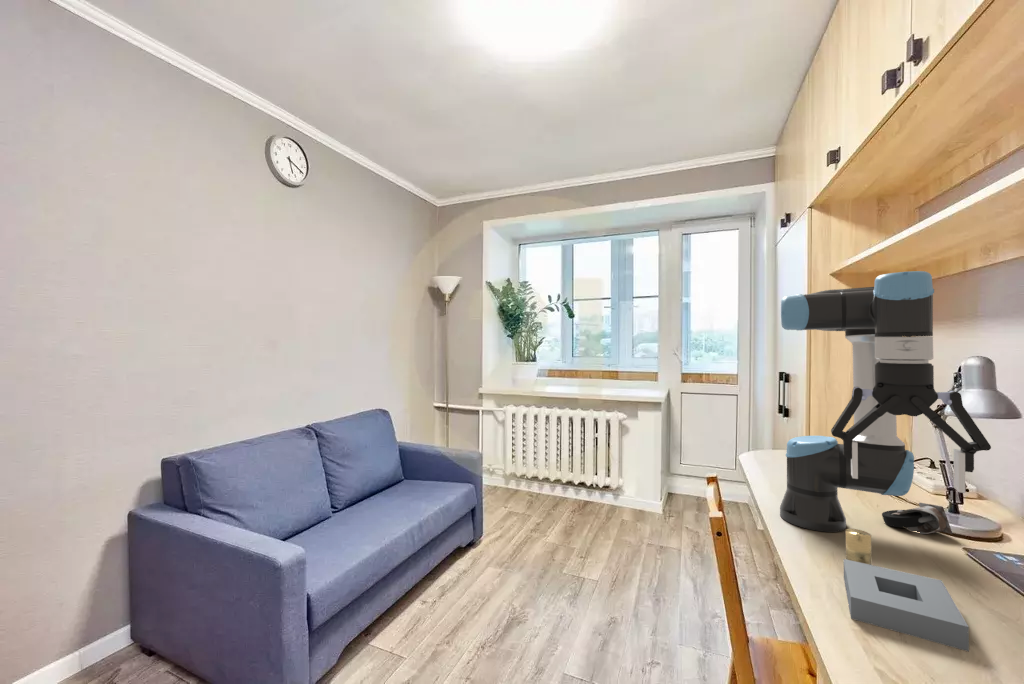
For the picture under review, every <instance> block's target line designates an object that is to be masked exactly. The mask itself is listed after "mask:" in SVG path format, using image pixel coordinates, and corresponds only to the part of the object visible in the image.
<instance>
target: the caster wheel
mask: <svg viewBox="0 0 1024 684" xmlns="http://www.w3.org/2000/svg"><path fill="white" fill-rule="evenodd" d="M918 505H919V507H914V508H913V507H912V508H909V509H893V510H886V511H883V512H882V513H881V516H882V519H883V523H884V522H885V523H886V524H887V525H886V524H885V523H884V524H885V525H886V526H889V527H896V528H905V529H906V530H907V531H909V530H910V531H909V532H911V531H917V532H920V534H919V535H927V534H932V533H933V534H934V533H937V532H941V533H942V532H943V533H946V534H951V535H953V531H952V528H951V525H950V522H949V520H948V516H947V514H946V511H945V509H944V508H945V507H944V506H942V505H936V504H931V503H925V502H918Z"/></svg>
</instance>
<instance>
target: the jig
mask: <svg viewBox="0 0 1024 684" xmlns="http://www.w3.org/2000/svg"><path fill="white" fill-rule="evenodd" d="M842 562H843V581H844V587H845V591H846V592H845V593H846V598H847V605H848V604H849V605H848V608H849V615H850V619H852V620H855V621H858V622H862V623H865V624H869V625H873V626H877V627H880V628H883V629H887V630H891V631H895V632H898V633H901V634H906V635H909V636H912V637H914V638H918V639H923V640H925V641H930V642H933V643H937V644H941V645H944V646H948V647H951V648H955V649H958V650H962V651H965V652H969V651H970V639H969V638H970V637H969V634H970V633H969V632H970V631H969V630H970V629H969V628H970V627H969V625H968V623H967V622H966V619H965V618H964V617H963V615H962V613H961V611H960V610H959V608H958V606H957V605H956V603H955V601H954V600H953V597H952V595H951V594H950V592H949V590H948V589H947V588H946V585H945V584H944V582H943V581H942V580H941V579H937V578H933V577H928V576H924V575H919V574H914V573H909V572H904V571H901V570H896V569H892V568H886V567H882V566H878V565H875V564H874V565H873V564H872V565H869V564H865V563H860V562H856V561H851V560H847V559H846V558H843V561H842Z"/></svg>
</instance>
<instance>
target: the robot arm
mask: <svg viewBox="0 0 1024 684" xmlns="http://www.w3.org/2000/svg"><path fill="white" fill-rule="evenodd" d="M934 294H935V289H934V286H933V275H932V274H931V273H930V272H928V271H924V270H923V271H922V270H916V271H915V270H914V271H909V270H908V271H899V272H890V273H884V274H879V275H878V276H876V277H875V279H874V286H867V287H866V286H865V287H853V288H839V289H826V290H820V291H815V292H812V293H808V294H806V293H805V294H801V293H799V294H798V293H797V294H793V295H792V294H791V295H786V296H783V297H782V298H781V301H780V318H781V327H782V328H783V329H784V330H787V331H790V330H791V331H810V330H811V331H812V330H813V331H814V330H815V331H824V332H844V333H845V334H844V335H845V336H844V337H845V339H846V340H847V341H848V342H850V343H851V344H852V345H851V346H852V379H853V380H852V386H853V388H852V391H851V392H852V394H851V399H850V400H849V401H848V403H847V404H846V406H845V408H844V409H843V411H842V412H841V414H840V415H839V417H838V419H837V420H836V422H835V423H834V424H833V426H832V428H831V430H830V432H831V434H832V436H827V435H826V436H825V435H802V436H796V437H793V438H790V439H789V440H788V441H787V443H786V452H785V457H786V491H785V494H784V496H783V499H782V500H781V503H780V507H779V515H780V518H782V520H784V521H786V522H787V523H790V524H791V525H794V526H797V527H800V528H804V529H807V530H812V531H818V532H827V533H829V532H830V533H837V532H843V531H844V530H846V528H847V517H846V516H845V512H844V510H843V508H842V506H841V503H840V500H839V496H838V488H839V489H847V490H851V491H852V490H854V491H861V492H866V493H867V492H868V493H874V494H879V495H880V496H881V495H882V496H887V495H888V496H893V497H895V496H896V497H902V496H905V495H907V494H908V493H909V491H910V489H911V487H912V483H913V479H914V474H915V473H914V471H915V463H914V462H915V455H914V454H913V453H914V452H912V451H910V450H908V449H906V443H905V442H904V441H903V440H901V439H900V438H899V436H898V434H897V427H898V426H897V416H903V415H906V416H909V417H918V416H921V415H924V416H925V417H926V418H927V419H928V420H929V421H931V422H932V423H933V424H934V425H935V426H936V427H937V428H938V429H940V430H941V431H942V432H943V433H944V434H945V435H946V436H947V437H948V438H949V439H950V440H952V442H954V443H955V444H956V445H957V446H958V447H959V448H960V449H959V448H953V488H954V489H955V490H956V491H957V492H958V493H961V494H966V473H973V472H974V470H975V454H976V453H977V452H980V451H990V450H991V449H992V446H991V444H990V443H989V441H988V440H987V438H986V436H985V435H984V434H983V433H982V431H981V429H979V427H978V426H977V424H976V423H975V421H974V419H973V418H972V416H971V415H970V414H969V412H968V411H967V410H966V408H965V406H964V405H963V400H962V398H963V397H962V394H961V393H960V392H958V391H955V390H953V389H952V390H951V389H950V390H947V391H936V390H935V386H934V385H935V383H934V381H935V379H934V377H935V376H934V375H935V374H934V373H935V372H934V370H935V369H934V364H932V363H929V361H932V360H933V359H934V333H933V331H934V329H933V328H934V323H933V321H934V316H933V315H934V314H933V313H934V312H933V311H934V309H933V308H934ZM937 400H941V401H942V403H943V404H945V405H947V406H949V408H950V410H951V411H952V412H953V415H954V416H955V417H956V418H957V420H958V421H959V423H960V425H962V427H963V429H964V430H965V431H966V433H967V435H968V436H969V437H970V439H971V441H969V442H968V441H967V440H966V438H964V437H963V436H962V435H961V434H960V433H958V432H957V431H956V430H955V429H954V428H953V427H952V426H951V425H950V424H948V422H946V421H945V420H944V419H943V418H942V417H941V416H940V415H939V414H938V413H937V412H936V411H934V410H933V409H932V408H931V407H932V406H933V405H934V404H935V403H936V402H937ZM852 417H853V425H852V426H851V427H849V428H848V429H847V430H846V431H844V429H845V428H846V426H847V425H848V423H849V422H850V420H851V419H852ZM835 437H836V438H839V439H841V440H842V443H839V441H838V440H837V439H836V438H835Z"/></svg>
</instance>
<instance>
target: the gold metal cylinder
mask: <svg viewBox="0 0 1024 684" xmlns="http://www.w3.org/2000/svg"><path fill="white" fill-rule="evenodd" d="M845 559H847V560H851V561H856V562H860V563H865V564H869V565H873V564H872V534H871V533H869V532H868V531H865V530H862V529H858V528H847V529H846V528H845Z"/></svg>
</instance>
